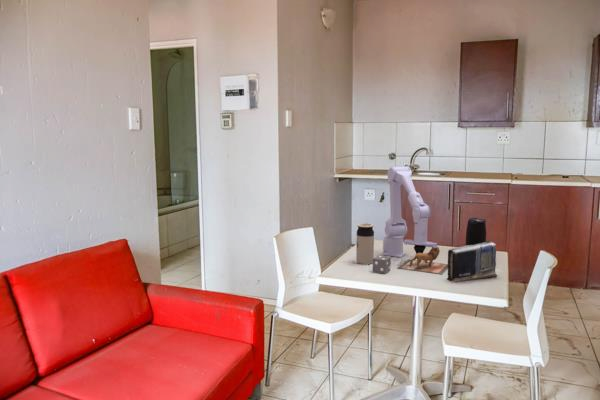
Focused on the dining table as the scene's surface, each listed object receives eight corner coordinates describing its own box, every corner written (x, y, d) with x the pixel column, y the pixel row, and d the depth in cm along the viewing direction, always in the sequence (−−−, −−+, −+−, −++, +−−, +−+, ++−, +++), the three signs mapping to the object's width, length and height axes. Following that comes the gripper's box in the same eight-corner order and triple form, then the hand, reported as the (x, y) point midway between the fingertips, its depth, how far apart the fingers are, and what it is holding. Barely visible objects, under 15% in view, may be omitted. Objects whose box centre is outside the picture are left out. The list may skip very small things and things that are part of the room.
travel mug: (374, 260, 238) (374, 223, 236) (372, 265, 231) (373, 226, 228) (357, 259, 240) (357, 222, 237) (355, 264, 232) (355, 226, 230)
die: (372, 272, 220) (372, 258, 219) (377, 268, 225) (377, 255, 224) (385, 273, 217) (386, 260, 216) (390, 270, 222) (390, 257, 221)
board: (396, 268, 225) (397, 267, 225) (408, 259, 240) (408, 259, 240) (441, 274, 215) (441, 274, 215) (451, 265, 230) (451, 264, 230)
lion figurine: (430, 258, 232) (436, 242, 228) (437, 265, 228) (443, 249, 224) (405, 263, 225) (411, 248, 221) (413, 271, 221) (418, 255, 217)
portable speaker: (488, 259, 239) (490, 219, 236) (477, 262, 233) (479, 221, 230) (472, 255, 246) (474, 216, 243) (461, 259, 240) (463, 218, 237)
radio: (449, 282, 204) (450, 247, 202) (439, 276, 213) (440, 242, 211) (500, 278, 209) (502, 244, 207) (488, 272, 218) (490, 239, 216)
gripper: (402, 232, 226) (401, 261, 228) (434, 235, 219) (433, 265, 221) (407, 229, 232) (406, 257, 234) (438, 232, 225) (437, 262, 227)
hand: (419, 261), depth 228 cm, fingers closed, pressing on lion figurine
